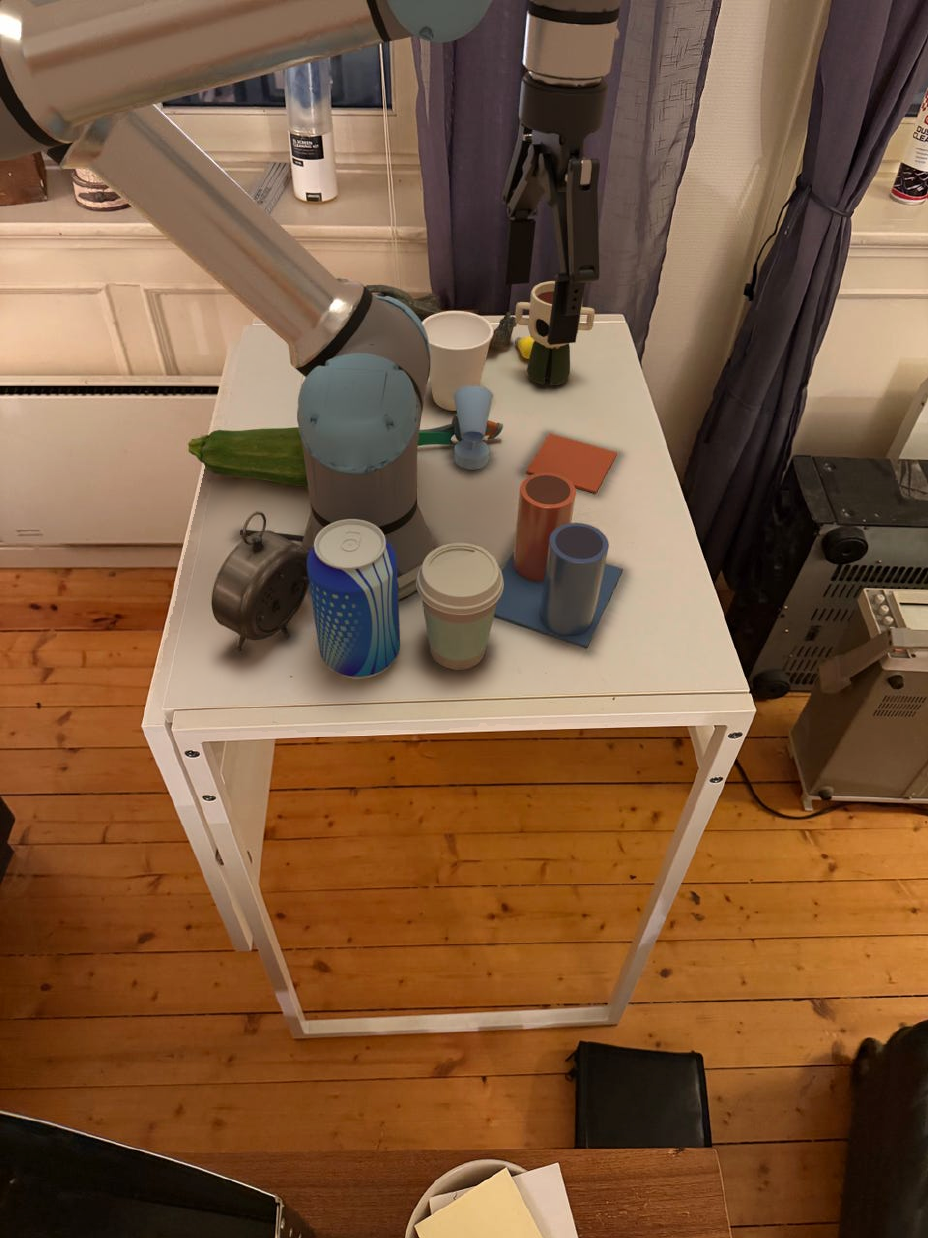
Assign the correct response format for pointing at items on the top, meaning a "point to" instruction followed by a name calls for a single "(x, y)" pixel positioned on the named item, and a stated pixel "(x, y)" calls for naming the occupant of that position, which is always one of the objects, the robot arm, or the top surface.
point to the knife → (453, 433)
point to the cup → (456, 353)
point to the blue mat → (525, 600)
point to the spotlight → (472, 426)
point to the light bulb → (525, 345)
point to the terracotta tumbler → (540, 520)
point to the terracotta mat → (573, 462)
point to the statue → (428, 308)
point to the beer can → (355, 598)
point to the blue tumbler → (573, 578)
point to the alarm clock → (260, 585)
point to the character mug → (543, 355)
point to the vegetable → (254, 454)
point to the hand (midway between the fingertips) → (537, 311)
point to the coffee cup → (459, 602)
